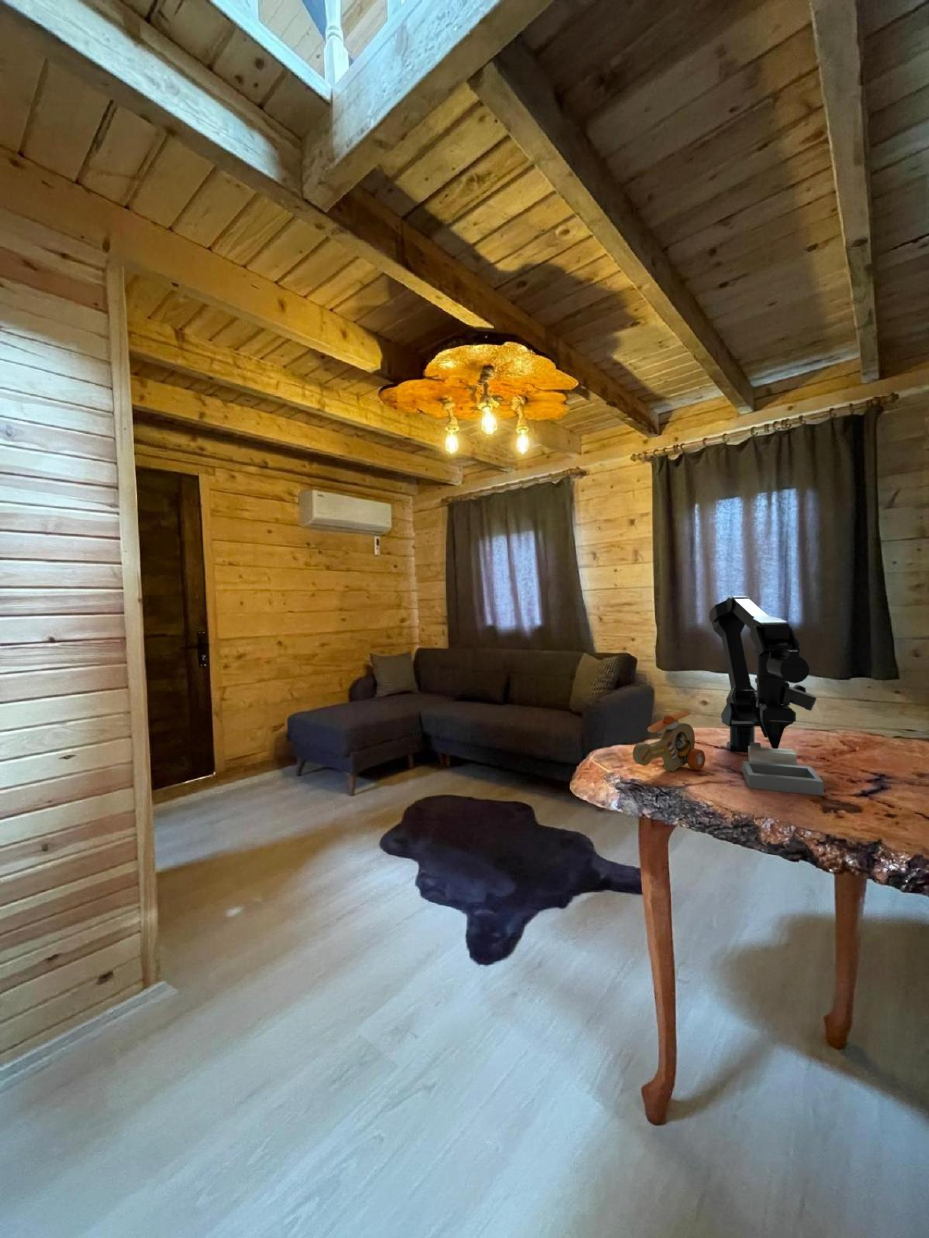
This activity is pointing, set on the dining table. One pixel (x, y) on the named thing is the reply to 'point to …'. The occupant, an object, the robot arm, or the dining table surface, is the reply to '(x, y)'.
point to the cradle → (782, 778)
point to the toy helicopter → (671, 745)
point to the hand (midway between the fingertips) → (770, 742)
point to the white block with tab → (771, 755)
